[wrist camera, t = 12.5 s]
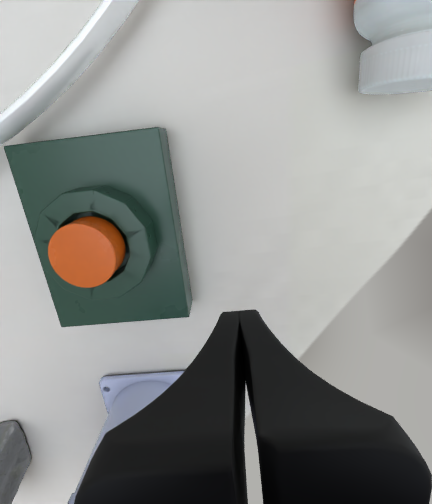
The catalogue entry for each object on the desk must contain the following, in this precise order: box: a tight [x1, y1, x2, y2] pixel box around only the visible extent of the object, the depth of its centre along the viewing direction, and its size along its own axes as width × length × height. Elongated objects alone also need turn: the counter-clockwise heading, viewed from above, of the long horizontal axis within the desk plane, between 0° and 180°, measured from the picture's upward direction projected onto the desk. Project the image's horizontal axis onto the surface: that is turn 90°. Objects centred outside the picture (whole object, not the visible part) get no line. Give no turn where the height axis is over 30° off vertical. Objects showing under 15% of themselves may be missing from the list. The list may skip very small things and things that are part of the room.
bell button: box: [48, 216, 126, 288], centre depth 17 cm, size 4×4×2 cm
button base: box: [4, 127, 192, 327], centre depth 20 cm, size 12×9×4 cm
